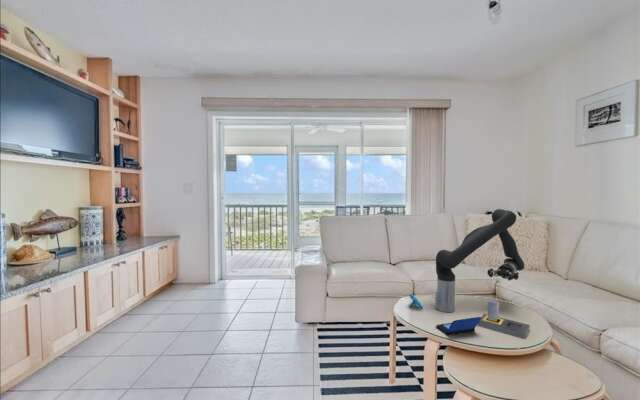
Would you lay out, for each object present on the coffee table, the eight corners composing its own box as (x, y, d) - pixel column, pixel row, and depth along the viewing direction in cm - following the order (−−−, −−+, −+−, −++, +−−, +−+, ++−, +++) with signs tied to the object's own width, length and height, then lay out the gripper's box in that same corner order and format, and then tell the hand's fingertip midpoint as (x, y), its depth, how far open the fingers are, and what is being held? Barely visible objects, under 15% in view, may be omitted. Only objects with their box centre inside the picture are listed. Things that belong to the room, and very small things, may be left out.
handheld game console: (461, 324, 158) (462, 306, 158) (481, 336, 145) (482, 316, 145) (434, 327, 154) (435, 309, 154) (453, 340, 141) (453, 320, 141)
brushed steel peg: (487, 325, 157) (488, 301, 156) (489, 322, 160) (490, 299, 159) (496, 327, 154) (497, 303, 153) (498, 324, 157) (499, 301, 156)
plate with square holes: (477, 325, 156) (477, 320, 156) (484, 318, 165) (484, 313, 165) (525, 338, 142) (525, 333, 142) (529, 330, 151) (529, 324, 151)
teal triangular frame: (423, 309, 172) (410, 294, 175) (415, 316, 173) (402, 301, 176) (423, 305, 182) (411, 291, 185) (416, 311, 183) (404, 297, 186)
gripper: (493, 261, 181) (484, 267, 169) (521, 265, 171) (515, 272, 160) (493, 274, 182) (484, 281, 170) (521, 279, 172) (515, 286, 160)
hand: (499, 277), depth 165 cm, fingers open, 8 cm apart
